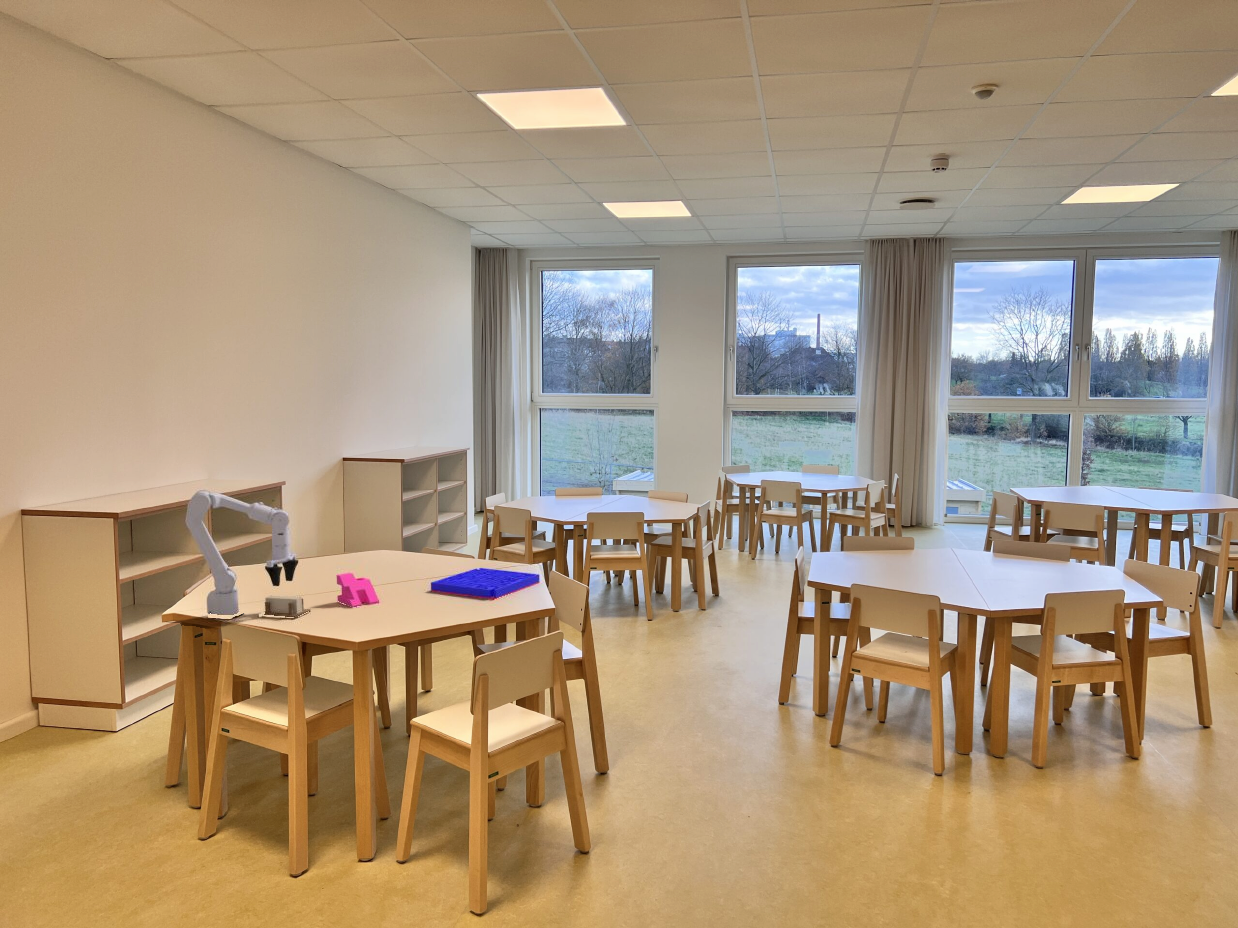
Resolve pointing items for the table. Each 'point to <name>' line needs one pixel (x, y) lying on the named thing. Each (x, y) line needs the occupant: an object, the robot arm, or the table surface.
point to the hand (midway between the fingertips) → (282, 583)
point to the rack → (290, 614)
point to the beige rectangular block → (284, 604)
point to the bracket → (356, 590)
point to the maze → (485, 583)
